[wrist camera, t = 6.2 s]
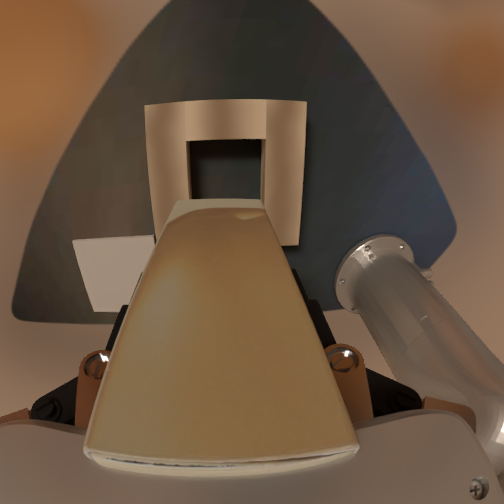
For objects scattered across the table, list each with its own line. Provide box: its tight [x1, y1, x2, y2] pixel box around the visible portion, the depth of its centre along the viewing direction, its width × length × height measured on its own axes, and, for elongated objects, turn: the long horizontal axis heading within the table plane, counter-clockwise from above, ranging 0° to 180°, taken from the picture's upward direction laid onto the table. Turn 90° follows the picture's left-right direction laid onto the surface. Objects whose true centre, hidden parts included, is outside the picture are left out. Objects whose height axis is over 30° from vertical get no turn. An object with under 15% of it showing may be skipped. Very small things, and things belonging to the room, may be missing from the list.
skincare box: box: [83, 199, 360, 477], centre depth 10 cm, size 6×4×12 cm
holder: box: [145, 99, 307, 246], centre depth 28 cm, size 15×15×3 cm
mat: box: [72, 235, 155, 312], centre depth 34 cm, size 11×11×1 cm
